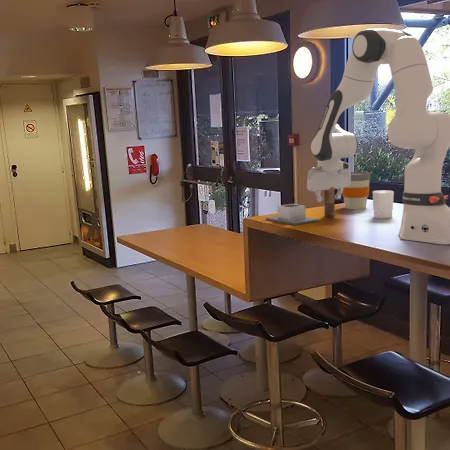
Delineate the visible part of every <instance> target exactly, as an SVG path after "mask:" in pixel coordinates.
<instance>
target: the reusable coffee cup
mask: <svg viewBox="0 0 450 450" xmlns="http://www.w3.org/2000/svg"><path fill="white" fill-rule="evenodd" d="M350 173H351V184H350V186H349V187H344V188H343V192H342V194H341V197H343V204H344V209H348V210H365V209H366V208H367V202H368V197H369V195H370V180H371V174H370V172H368V171H350Z"/></svg>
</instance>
